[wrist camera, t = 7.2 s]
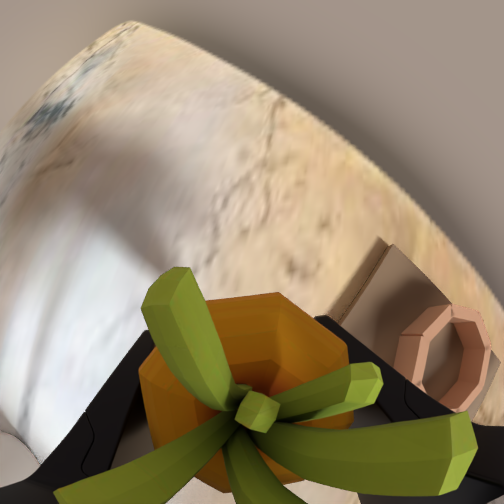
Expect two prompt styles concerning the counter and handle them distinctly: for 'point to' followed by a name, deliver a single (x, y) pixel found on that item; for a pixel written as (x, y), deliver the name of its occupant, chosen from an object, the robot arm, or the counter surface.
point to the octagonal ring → (474, 355)
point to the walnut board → (409, 323)
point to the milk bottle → (15, 460)
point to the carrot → (266, 410)
